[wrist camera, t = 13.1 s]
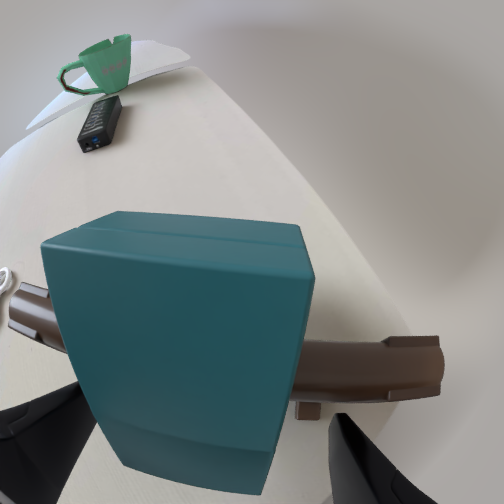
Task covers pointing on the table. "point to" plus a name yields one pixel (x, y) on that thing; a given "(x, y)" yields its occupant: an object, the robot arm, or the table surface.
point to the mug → (103, 66)
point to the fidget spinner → (7, 281)
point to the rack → (310, 362)
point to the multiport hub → (100, 124)
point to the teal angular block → (184, 338)
